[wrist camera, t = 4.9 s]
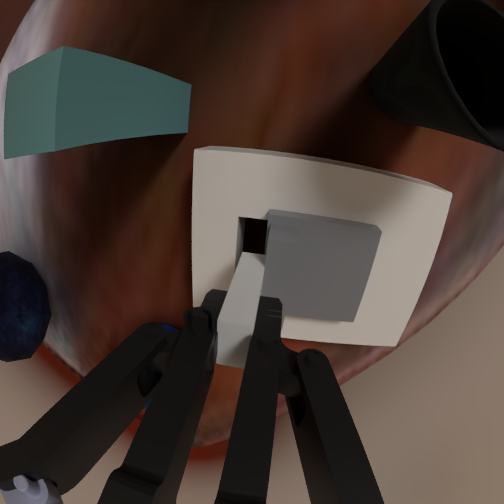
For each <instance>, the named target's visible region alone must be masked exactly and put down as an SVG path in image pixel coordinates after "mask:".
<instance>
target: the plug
mask: <svg viewBox="0 0 504 504" xmlns="http://www.w3.org/2000/svg"><path fill="white" fill-rule="evenodd" d="M190 95H191V85H190V84H188V83H185V82H183V81H180V80H178V79H175V78H173V77H170V76H167V75H165V74H162V73H159V72H156V71H154V70H151V69H148V68H145V67H142V66H139V65H136V64H133V63H130V62H126V61H123V60H120V59H116V58H113V57H109V56H106V55H102V54H98V53H94V52H90V51H86V50H81V49H77V48H72V47H67V46H62V47H60V48H58V49H55V50H53V51H51V52H49V53H47V54H45V55H42V56H40V57H38V58H36V59H34V60H32V61H31V62H29V63H27V64H25V65H23V66H21V67H20V68H18V69H16V70H14V71H13V72H11V73H9V74H8V81H7V89H6V99H5V113H4V159H9V158H14V157H20V156H26V155H32V154H38V153H45V152H53V151H58V150H63V149H67V148H72V147H77V146H82V145H87V144H93V143H99V142H105V141H111V140H118V139H125V138H133V137H142V136H151V135H162V134H175V133H188V120H189V107H190Z"/></svg>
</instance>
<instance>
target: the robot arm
mask: <svg viewBox="0 0 504 504" xmlns="http://www.w3.org/2000/svg"><path fill="white" fill-rule="evenodd" d="M265 259H266V255H262V254H255V253H248V252H242V255H241V257H240V260H239V263H238V265H237V268H236V271H235V274H234V276H233V279H232V282H231V284H230V287H229V290H228V291H223V290H217V289H212V290H210V291H209V292H208V293H206V295H205V297H204V300H203V302H202V304H201V306H200V307H193V308H190V309H188V310H187V311H186V312H185V313H184V324H185V329H184V330H181V331H166V330H165V328H164V326H162V325H161V324H158V323H146V324H143V325H142V326H140V327H139V328H138V329H136V330H135V331H134V332H133V333H132V334H131V335H130V336H129V337H128V338H126V339H125V340H124V341H123V342H122V343H121V344H120V345H119V346H118V347H117V348H115V349H114V350H113V351H112V352H111V353H110V354H109V355H108V356H107V357H106V358H104V359H103V360H102V361H101V362H100V363H99V364H98V365H97V366H96V367H95V368H94V369H92V370H91V371H90V372H89V373H88V374H87V375H86V376H85V377H84V378H83V379H82V380H81V381H80V382H78V383H77V384H76V385H75V386H74V387H73V388H72V389H71V390H70V391H69V392H68V393H67V394H66V395H65V396H63V397H62V398H61V399H60V400H59V401H58V402H57V403H56V404H55V405H54V406H53V407H52V408H51V409H50V410H49V411H48V412H47V413H46V414H44V415H43V416H42V418H40V419H39V420H38V421H37V422H36V423H35V424H34V425H33V426H32V427H31V428H30V429H29V430H28V431H27V432H26V433H25V434H24V435H23V436H22V437H21V438H20V439H18V440H16V441H13V442H10V443H8V444H5V445H3V446H0V491H1V493H2V495H3V497H4V499H5V502H6V504H63V501H62V499H61V495H63V494H65V493H67V492H68V491H69V490H71V489H72V488H74V487H75V486H76V485H77V484H78V483H79V482H80V481H81V480H82V479H83V478H84V477H85V475H86V474H87V473H88V472H89V471H90V470H91V469H92V467H93V466H94V465H95V464H96V463H97V462H98V461H99V459H100V458H101V457H102V456H103V455H104V453H106V451H107V450H108V449H109V448H110V447H111V446H112V444H113V443H114V442H115V441H116V440H117V439H118V437H119V436H120V435H121V434H122V433H123V432H124V430H125V429H126V428H127V427H128V426H129V424H130V423H131V422H132V421H133V420H134V419H135V417H136V416H137V415H138V414H139V413H140V412H141V410H142V409H143V408H144V407H145V406H146V404H147V403H148V402H149V401H150V400H151V401H150V403H149V405H148V407H147V409H146V412H145V414H144V416H143V418H142V421H141V423H140V425H139V428H138V430H137V432H136V434H135V436H134V439H133V441H132V443H131V446H130V448H129V450H128V452H127V455H126V457H125V459H124V462H123V464H122V466H121V467H120V468H117V469H115V470H114V471H113V472H112V473H111V474H110V476H109V478H108V480H107V482H106V484H105V487H104V489H103V491H102V494H101V496H100V499H99V501H98V503H97V504H176V498H177V494H178V490H179V487H180V484H181V480H182V477H183V474H184V470H185V467H186V464H187V460H188V457H189V454H190V450H191V447H192V444H193V441H194V437H195V434H196V431H197V427H198V424H199V421H200V417H201V414H202V411H203V407H204V404H205V401H206V397H207V394H208V391H209V388H210V384H211V381H212V378H213V374H214V364H215V361H216V364H221V365H227V366H232V367H238V368H244V373H243V378H242V383H241V388H240V393H239V397H238V402H237V407H236V412H235V416H234V421H233V426H232V430H231V435H230V440H229V444H228V449H227V453H226V458H225V462H224V467H223V471H222V475H221V480H220V484H219V489H218V493H217V497H216V499H215V502H214V504H266V497H267V490H268V482H269V474H270V466H271V457H272V448H273V439H274V428H275V419H276V409H277V398H278V393H281V394H283V395H285V398H286V402H287V406H288V411H289V415H290V419H291V423H292V427H293V431H294V435H295V439H296V443H297V448H298V451H299V456H300V460H301V464H302V468H303V472H304V476H305V480H306V485H307V489H308V493H309V497H310V501H311V504H384V501H383V499H382V496H381V493H380V490H379V487H378V485H377V482H376V479H375V476H374V474H373V471H372V468H371V466H370V463H369V460H368V458H367V455H366V452H365V450H364V447H363V445H362V442H361V440H360V437H359V434H358V432H357V429H356V427H355V424H354V422H353V419H352V416H351V414H350V412H349V409H348V407H347V404H346V402H345V399H344V397H343V394H342V392H341V389H340V387H339V384H338V382H337V379H336V377H335V375H334V372H333V370H332V367H331V365H330V363H329V360H328V358H327V357H326V355H325V354H324V353H322V352H321V351H319V350H316V349H305V350H302V351H301V352H299V353H298V352H295V351H292V350H290V349H288V348H287V347H286V346H285V345H284V344H283V343H282V341H281V324H282V308H283V304H282V303H281V301H280V299H279V298H273V297H267V296H261V291H262V284H263V277H264V269H265ZM151 398H152V399H151Z"/></svg>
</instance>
